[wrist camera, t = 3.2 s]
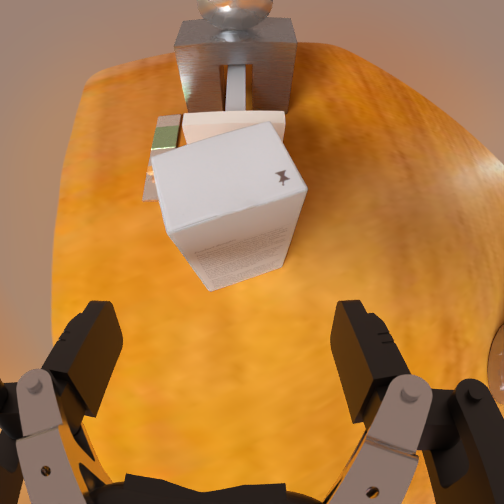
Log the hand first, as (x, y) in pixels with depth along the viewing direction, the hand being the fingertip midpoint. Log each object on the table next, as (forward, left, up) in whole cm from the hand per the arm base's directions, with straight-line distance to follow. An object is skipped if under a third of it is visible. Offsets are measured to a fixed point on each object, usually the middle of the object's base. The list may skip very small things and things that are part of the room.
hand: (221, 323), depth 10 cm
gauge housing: (+1, -19, -12) cm, 22 cm away
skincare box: (0, -6, -12) cm, 14 cm away
